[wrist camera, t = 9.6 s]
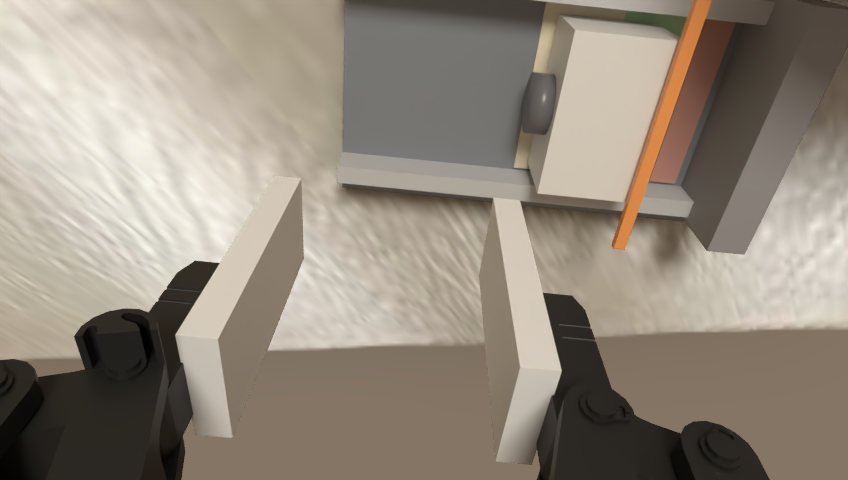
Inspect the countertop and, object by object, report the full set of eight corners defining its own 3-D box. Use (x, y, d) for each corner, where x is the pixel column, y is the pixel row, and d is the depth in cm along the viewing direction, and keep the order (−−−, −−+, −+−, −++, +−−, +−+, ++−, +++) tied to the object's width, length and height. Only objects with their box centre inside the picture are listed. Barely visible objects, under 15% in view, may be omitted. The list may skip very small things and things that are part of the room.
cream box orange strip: (502, 198, 32) (510, 238, 29) (549, -45, 26) (568, -36, 22) (603, 208, 33) (624, 249, 29) (677, -31, 26) (718, -19, 22)
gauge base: (344, 179, 34) (326, 229, 29) (349, -81, 26) (326, -77, 21) (693, 214, 34) (736, 270, 29) (795, -32, 27) (877, -16, 22)
